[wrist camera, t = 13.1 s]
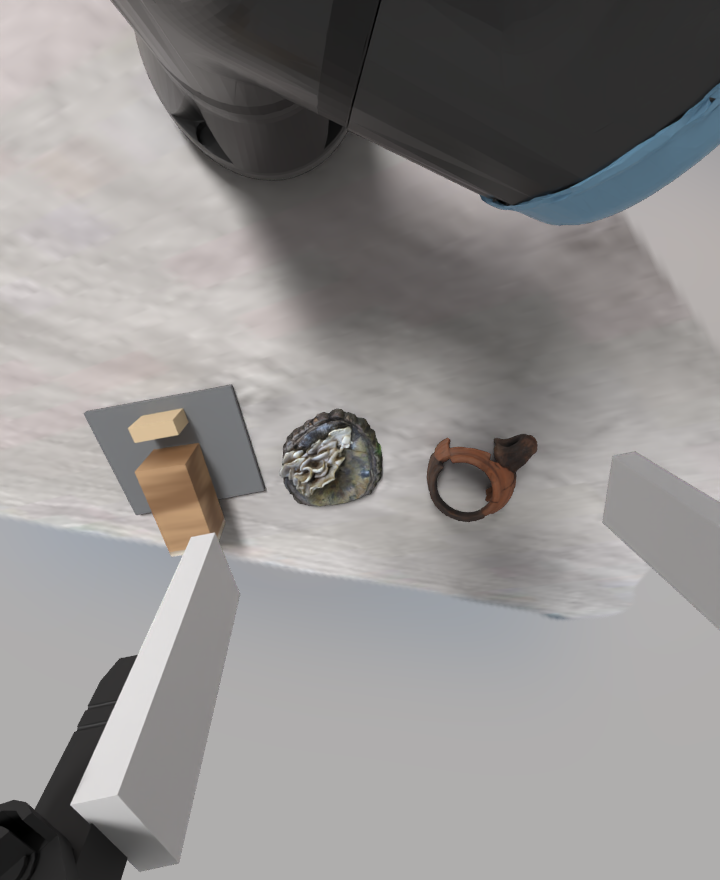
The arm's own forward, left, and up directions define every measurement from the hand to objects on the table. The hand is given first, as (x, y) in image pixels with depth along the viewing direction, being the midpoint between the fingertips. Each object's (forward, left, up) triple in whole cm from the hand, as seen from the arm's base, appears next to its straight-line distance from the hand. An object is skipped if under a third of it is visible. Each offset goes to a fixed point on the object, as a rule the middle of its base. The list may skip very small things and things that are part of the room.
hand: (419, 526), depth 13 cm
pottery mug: (+14, +12, -27) cm, 33 cm away
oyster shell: (+11, -4, -27) cm, 30 cm away
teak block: (+6, -19, -24) cm, 31 cm away
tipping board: (+7, -19, -27) cm, 34 cm away
